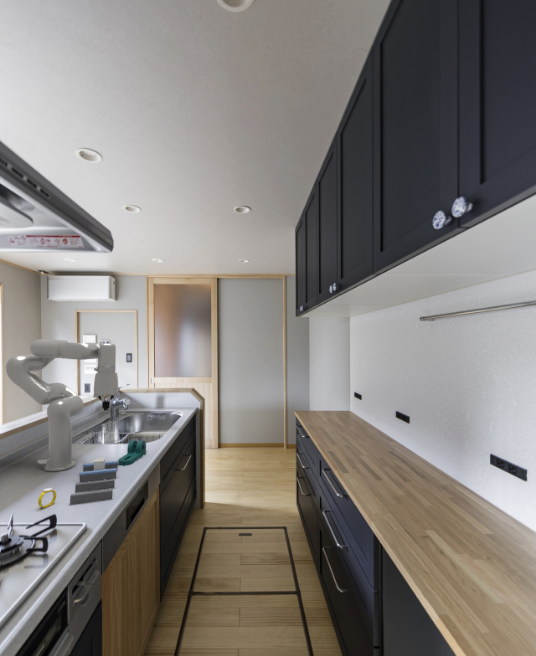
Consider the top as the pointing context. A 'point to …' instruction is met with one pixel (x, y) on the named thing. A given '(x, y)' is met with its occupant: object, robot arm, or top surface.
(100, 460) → the off-white rectangular prism
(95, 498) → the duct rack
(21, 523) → the top surface
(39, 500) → the watch
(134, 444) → the bracket
